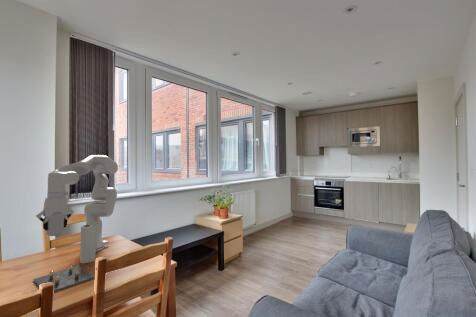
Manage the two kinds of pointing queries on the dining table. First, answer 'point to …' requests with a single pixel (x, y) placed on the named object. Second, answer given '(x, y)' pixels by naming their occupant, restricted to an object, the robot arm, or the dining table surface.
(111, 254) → the dining table surface
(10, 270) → the dining table surface
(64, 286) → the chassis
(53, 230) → the can
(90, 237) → the paper towel roll
